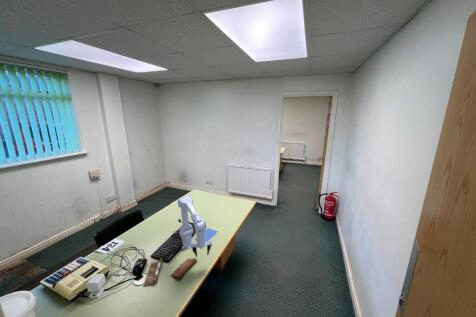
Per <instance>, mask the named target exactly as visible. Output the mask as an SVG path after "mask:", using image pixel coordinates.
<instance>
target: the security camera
mask: <svg viewBox="0 0 476 317" xmlns="http://www.w3.org/2000/svg"><path fill="white" fill-rule="evenodd" d="M106 282H107V281H106V276H105V274H104V273H94V274H93V275H92V276H91V277H90V279H88V281H87V282H86V284H85V285H86V289H87V291H88V292H89V293H90V294H89V295H88V298H89V299H99V298H100V297H101V295H102V294H103V292H104V291H105V290H106V289H105V287H103V286H104V285H105V283H106ZM94 293H95V296H93V294H94Z"/></svg>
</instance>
